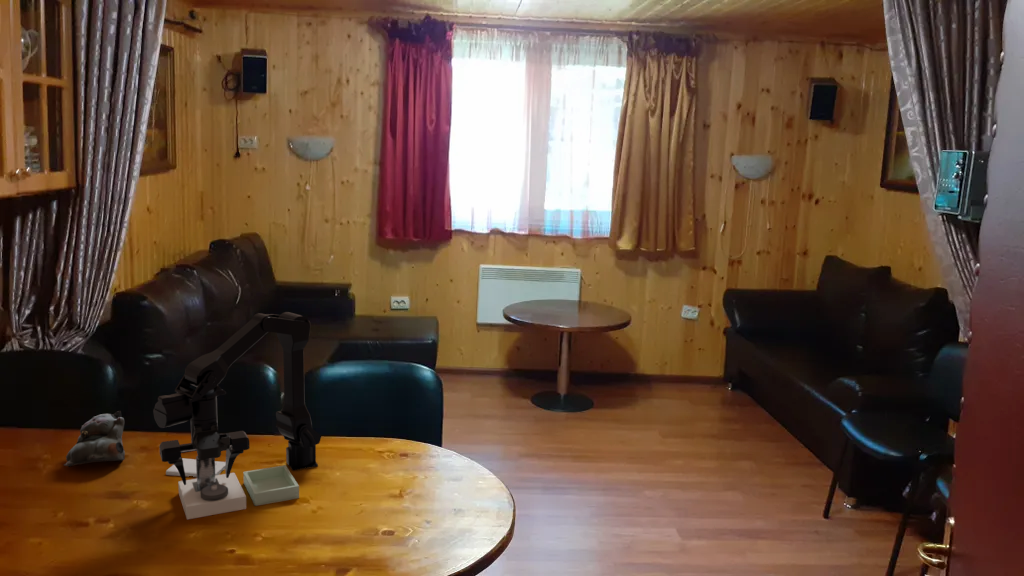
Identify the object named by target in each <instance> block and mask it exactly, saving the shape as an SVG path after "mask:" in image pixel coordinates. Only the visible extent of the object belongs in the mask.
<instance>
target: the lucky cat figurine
mask: <svg viewBox="0 0 1024 576" xmlns="http://www.w3.org/2000/svg"><path fill="white" fill-rule="evenodd" d="M124 429H125V418H124V417H122V411H121V410H118V411H116V412H114V413H113V414H112V413H102V414H98V415H96V416H93V417H92V418H91V419H89V420H88V421H86V422H85V423H84V424H83V425H81V428H80V430H79V431H80V435H79V436H78V437H77V441H76V443H75V445H73V447H71V448H70V450H69V451H68V452H67V454H66V456H65V458H66V459H65V460H66V463H64V464H63V466H65V467H68V468H70V467H72V466H77V465H84V464H89V463H99V462H100V463H101V462H123V461H124V460H126V458H125V456H126V452H125V449H124V448H125V447H124V446H123V445H124V444H123V438H122V437H123V434H124V433H123V432H124Z"/></svg>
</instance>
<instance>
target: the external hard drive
mask: <svg viewBox="0 0 1024 576" xmlns="http://www.w3.org/2000/svg"><path fill="white" fill-rule="evenodd" d="M182 460H183V466H184V471H185V477H189V476H193V478H197V471H196V458H195V459H194V458H182ZM225 467H226V461H216V460H215V476H216V475H221V473H222V472H223V471H225ZM165 475H166V476H175V477H176V476H179V477H181V476H180V473H179V471H178V470H177V468H176V466H175V465H174V464H172V465H171V466H170V467H169V468H168V469H166V471H165Z"/></svg>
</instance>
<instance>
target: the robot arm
mask: <svg viewBox="0 0 1024 576" xmlns="http://www.w3.org/2000/svg"><path fill="white" fill-rule="evenodd" d="M311 326H312V325H311V322H310V320H309V319H308V318H307V317H306V316H303V315H301V314H297V313H293V312H289V311H285V312H282V313H281V314H274V313H270V314H269V313H266V314H265V313H262V312H260V313H259V312H258V313H256V314H253V316H252V317H251V319H250V320H249V321H248V322H247V323H246V324H244V325H243V326H242V327H241V328H239V329H238V330H237V331H236V332H235V333H234V334H233V335H231V336H230V337H228V339H227V340H226V341H225V342H223V343H222V344H221V345H220V346H218V347H217V348H216V349H215V350H213V351H211V352H208V353H205V354H202V355H201V356H199V357H197V358H195V359H194V360H192V361H191V362H189V363H188V365H186V367H185V369H184V373H183V376H182V378H181V379H180V380H179V382H178V384H177V386H176V387H175V388H174V392H175V393H172V394H168V395H159V396H158V397H157V402H156V403H155V405H154V408H153V410H152V411H153V412H152V413H153V418H154V421H155V423H156V424H157V426H158V427H159V428H160V429H164V428H167V427H168V428H169V427H172V426H176V425H179V424H184V423H187V422H189V421H190V441H191V442H190V443H182V444H180V442H179V439H173V440H166V441H161V442H160V444H159V446H158V447H159V456H160V458H161V459H160V460H161V462H162V463H166V462H167V463H168V464H169V465H175V466H176V468H177V470H178V471H179V473H180V476H179V477H180V478H181V481H183V483H184V485H186V480H187V478H186V477H187V476H185V471H184V466H183V460H182V454H185V453H191V452H193V453H194V452H196V453H197V454H196V455H197V456H198V458H199V459H200V460H206V459H208V458H215V459H217V458H220V457H221V455H222V452H224V451H225V462H226V467H225V470H224V471H225V474H226V478H229V475H230V473H232V472H231V471H232V468H233V466H234V463H235V461H236V459H237V457H238V456H239V455H241V454H243V453H244V452H245V451H247V450H249V449H250V439H249V436H248V435H247V433H246V432H245V431H244V430H238V431H232V432H226V433H220V431H219V425H218V398H217V397H221V396H224V395H226V394H227V391H225V390H224V389H222V388H221V387H220V386H219V385H220V384H221V382H222V381H223V380H224V378H225V377H226V376H227V373H228V371H229V368H230V367H231V366H232V364H234V363H235V362H236V361H237V360H238V359H239V358H241V357H242V356H243V355H244V354H245V353H246V352H248V350H250V349H251V348H252V347H253V346H254V345H256V343H258V342H259V341H260V340H261V339H262V338H263V337H264V336H265V335H267V334H268V333H274V334H276V337H277V340H278V342H279V344H280V346H281V348H282V352H283V353H282V357H283V391H284V392H283V393H284V395H283V396H284V399H283V400H284V402H283V406H282V409H281V410H279V411H276V412H275V417H276V422H275V423H276V424H275V428H277V429H278V432H279V433H280V434H281V435H282V436H283V438H284V440H286V441H288V443H287V447H286V448H285V453H286V454H285V457H286V462H285V463H286V464H287V465H288V467H289V468H290V469H291V470H292V471H298V470H299V471H300V470H304V469H305V470H306V469H311V468H317V467H318V466H319V463H318V462H317V458H316V457H317V456H316V455H317V451H316V449H317V445H319V444H320V443H321V439H322V435H321V434H320V433H319V432H318V431H316V430H315V429H314V428H313V423H312V418H311V414H310V412H309V410H308V408H307V406H306V402H305V401H306V400H305V363H304V362H305V352H304V351H305V347H306V346H307V344H308V342H309V340H310V334H311ZM191 386H192V387H196V388H195V389H194V388H191Z"/></svg>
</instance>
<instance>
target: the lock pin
mask: <svg viewBox="0 0 1024 576" xmlns="http://www.w3.org/2000/svg"><path fill="white" fill-rule="evenodd" d="M195 459H196V471H197V477H196V479H197V492H198V491H201V490H202V489H203V488H205V487H207V486H209V485H215V484H216V480H215V461H216V460H215V459H216V458H208V459H206V460H200V459H199V458H198V455H196V456H195Z"/></svg>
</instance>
